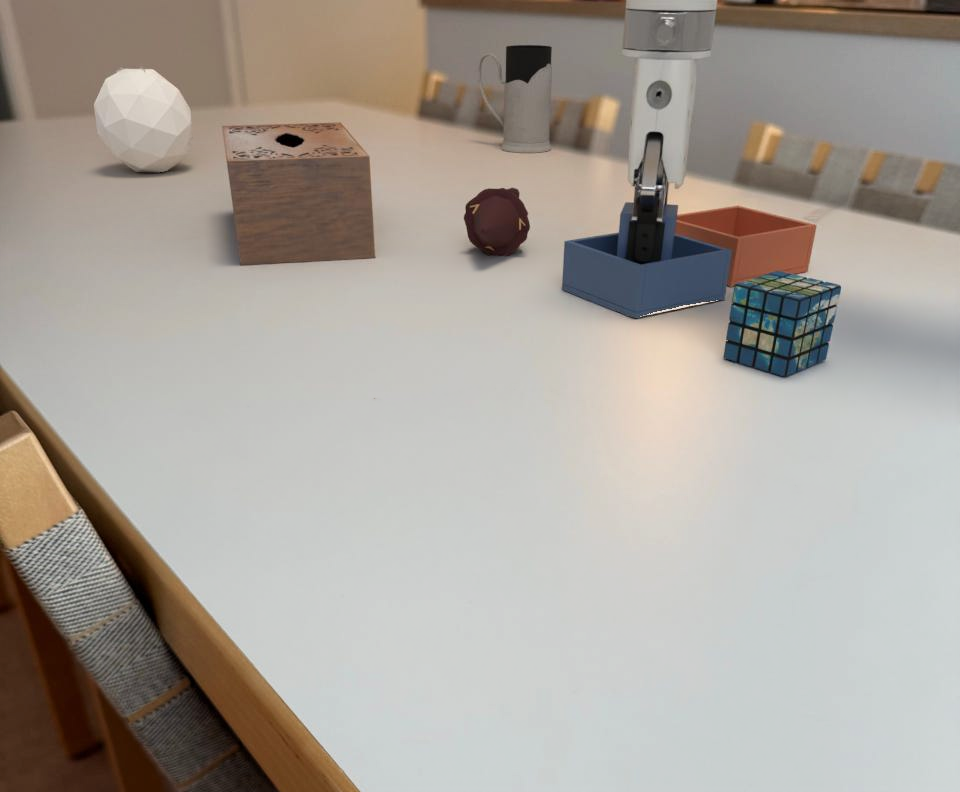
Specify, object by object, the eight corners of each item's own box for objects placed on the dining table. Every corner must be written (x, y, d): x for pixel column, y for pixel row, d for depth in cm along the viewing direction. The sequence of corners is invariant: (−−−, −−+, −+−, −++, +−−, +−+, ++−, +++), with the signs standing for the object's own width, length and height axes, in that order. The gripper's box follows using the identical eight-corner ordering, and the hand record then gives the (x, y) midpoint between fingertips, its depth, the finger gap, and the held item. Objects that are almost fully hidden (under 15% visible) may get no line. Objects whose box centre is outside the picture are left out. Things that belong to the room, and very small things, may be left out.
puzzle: (763, 342, 82) (776, 270, 78) (826, 360, 78) (842, 285, 75) (722, 358, 78) (733, 283, 75) (785, 378, 75) (800, 299, 71)
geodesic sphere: (59, 126, 144) (77, 39, 133) (136, 116, 153) (159, 34, 142) (123, 201, 143) (146, 120, 133) (197, 186, 153) (224, 109, 142)
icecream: (527, 207, 96) (549, 192, 109) (457, 183, 96) (488, 171, 109) (507, 276, 100) (531, 254, 112) (441, 253, 100) (472, 234, 113)
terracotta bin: (731, 249, 108) (737, 205, 106) (807, 271, 101) (817, 224, 98) (656, 262, 103) (661, 217, 101) (730, 287, 96) (738, 238, 93)
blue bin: (647, 273, 100) (652, 226, 97) (724, 300, 92) (732, 250, 89) (561, 289, 95) (564, 240, 92) (635, 319, 87) (640, 266, 84)
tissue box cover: (233, 213, 122) (221, 125, 116) (346, 208, 125) (340, 122, 119) (240, 265, 102) (226, 161, 96) (375, 257, 105) (369, 156, 99)
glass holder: (535, 154, 160) (538, 49, 152) (464, 146, 167) (464, 45, 158) (560, 147, 166) (565, 46, 158) (491, 140, 173) (492, 42, 164)
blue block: (620, 256, 94) (625, 202, 91) (671, 260, 93) (678, 204, 90) (615, 270, 90) (620, 213, 87) (669, 273, 89) (675, 216, 86)
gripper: (711, 44, 74) (680, 287, 84) (714, 31, 87) (688, 241, 98) (613, 41, 75) (595, 281, 85) (632, 29, 88) (614, 237, 99)
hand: (645, 258), depth 91 cm, fingers closed on blue block, 5 cm apart
